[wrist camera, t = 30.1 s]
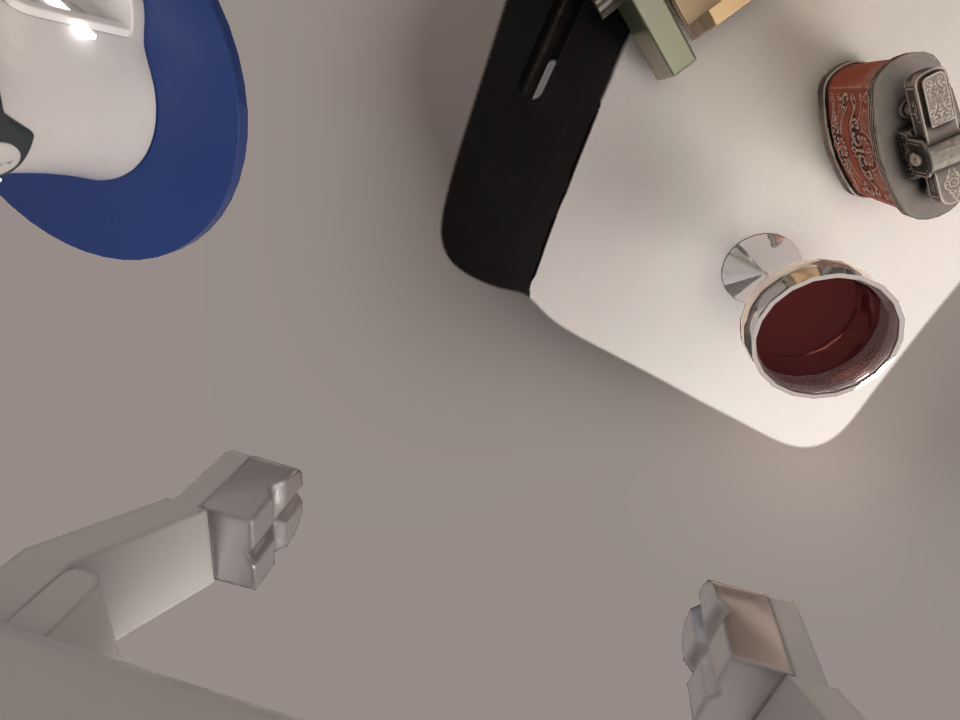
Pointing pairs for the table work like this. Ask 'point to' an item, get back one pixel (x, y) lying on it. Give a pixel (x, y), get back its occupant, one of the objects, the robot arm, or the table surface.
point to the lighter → (894, 132)
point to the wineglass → (811, 318)
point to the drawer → (668, 27)
